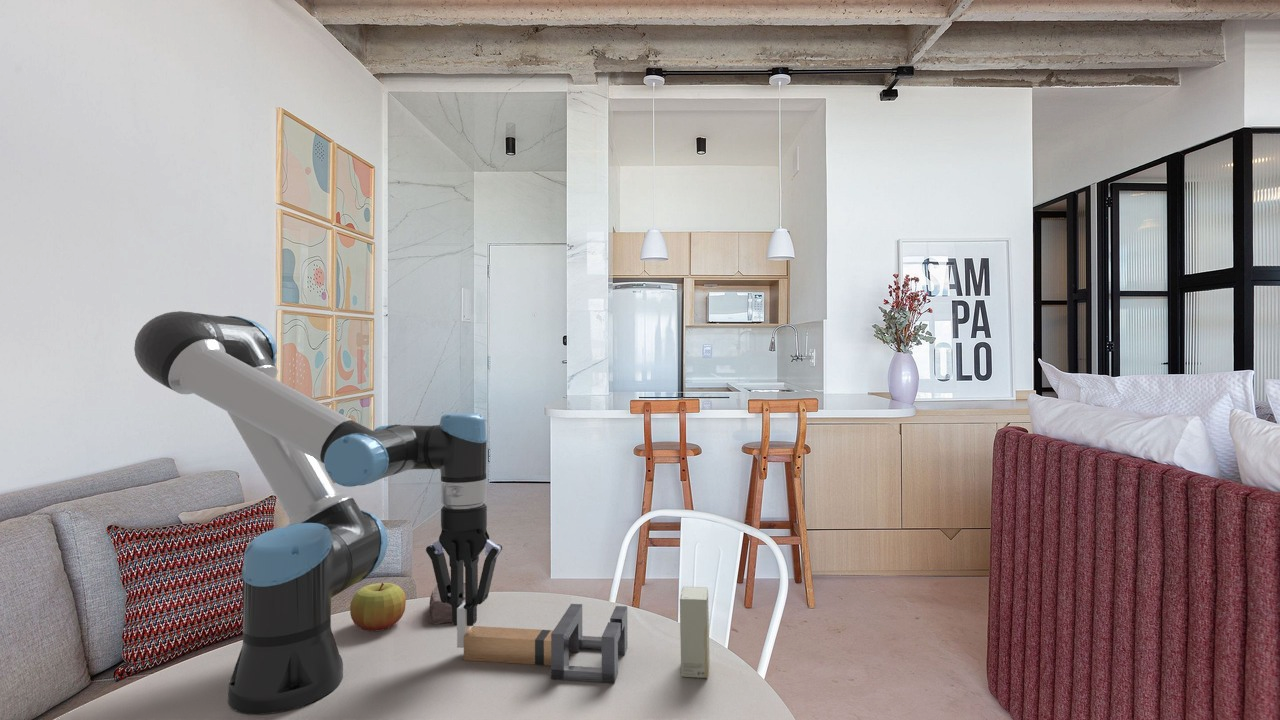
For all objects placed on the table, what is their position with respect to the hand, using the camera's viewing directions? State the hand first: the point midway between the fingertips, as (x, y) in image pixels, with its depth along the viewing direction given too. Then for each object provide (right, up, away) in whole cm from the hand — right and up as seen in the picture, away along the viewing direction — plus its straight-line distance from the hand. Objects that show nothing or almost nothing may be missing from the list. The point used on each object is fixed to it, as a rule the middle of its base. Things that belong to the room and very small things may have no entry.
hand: (464, 643), depth 104 cm
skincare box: (+39, -2, -5) cm, 39 cm away
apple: (-20, -2, +12) cm, 23 cm away
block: (+9, -2, -1) cm, 9 cm away
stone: (-7, -3, +19) cm, 20 cm away
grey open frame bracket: (+22, -2, -3) cm, 22 cm away
